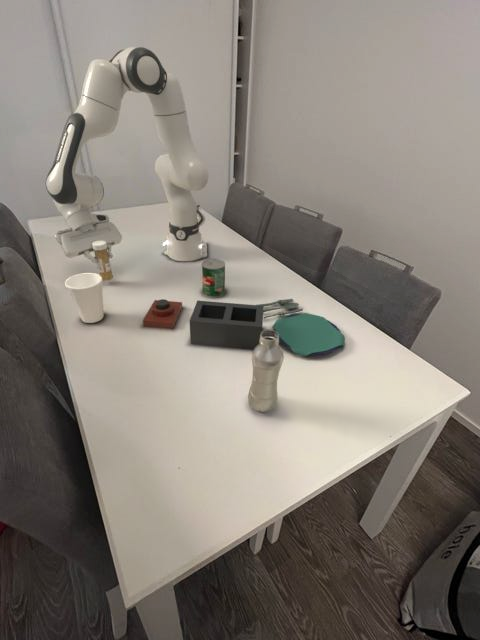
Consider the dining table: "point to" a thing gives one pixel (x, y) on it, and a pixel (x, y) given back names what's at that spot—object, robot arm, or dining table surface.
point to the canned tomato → (213, 277)
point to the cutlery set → (305, 331)
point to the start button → (162, 304)
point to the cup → (87, 295)
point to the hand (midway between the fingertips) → (103, 260)
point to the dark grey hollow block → (226, 324)
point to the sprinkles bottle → (102, 260)
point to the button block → (163, 315)
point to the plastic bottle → (265, 371)
